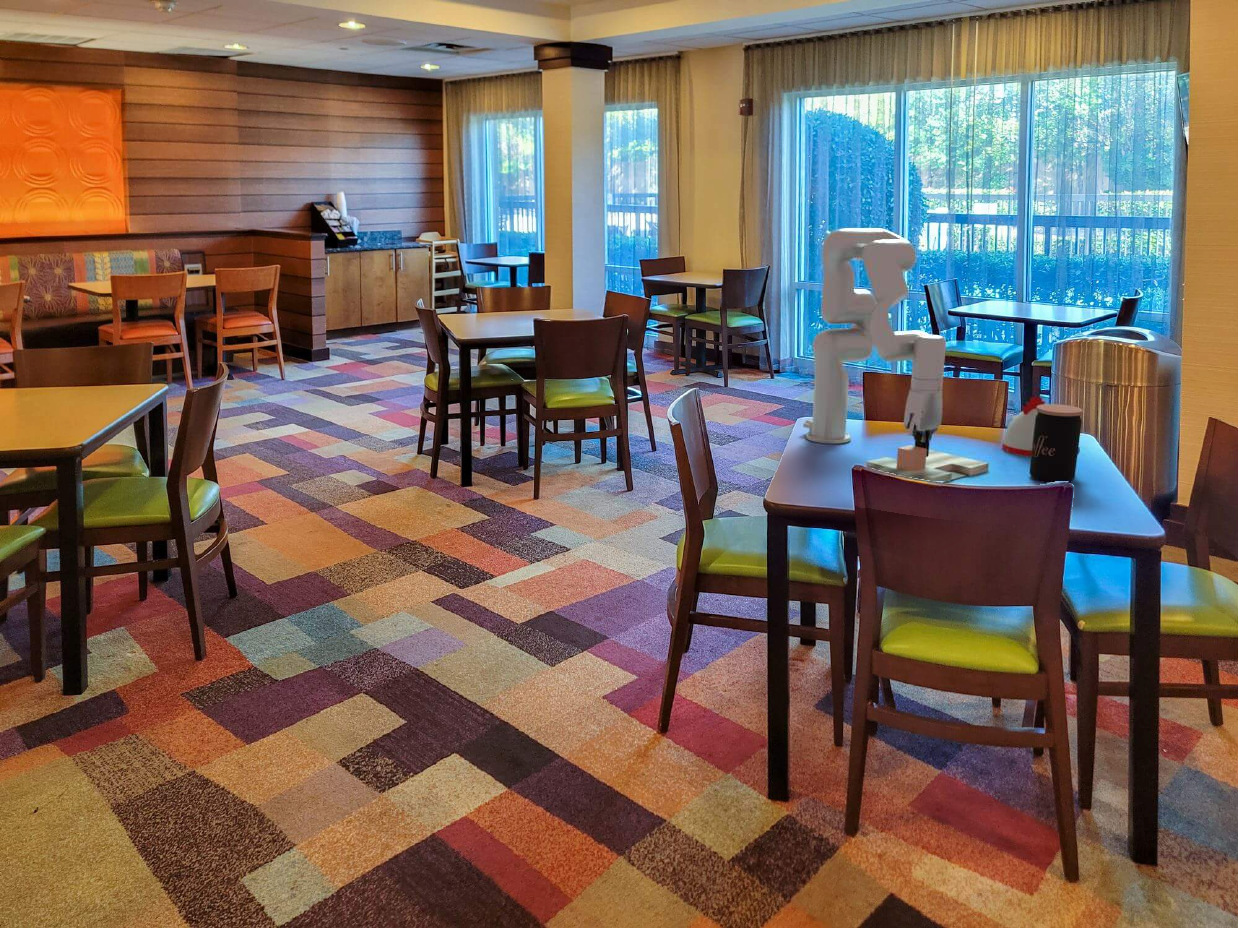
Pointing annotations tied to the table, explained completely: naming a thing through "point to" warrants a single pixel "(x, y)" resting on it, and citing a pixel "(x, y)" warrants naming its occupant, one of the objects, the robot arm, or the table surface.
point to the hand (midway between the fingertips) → (921, 455)
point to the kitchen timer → (1022, 429)
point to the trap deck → (934, 467)
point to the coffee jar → (1055, 443)
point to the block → (911, 458)
